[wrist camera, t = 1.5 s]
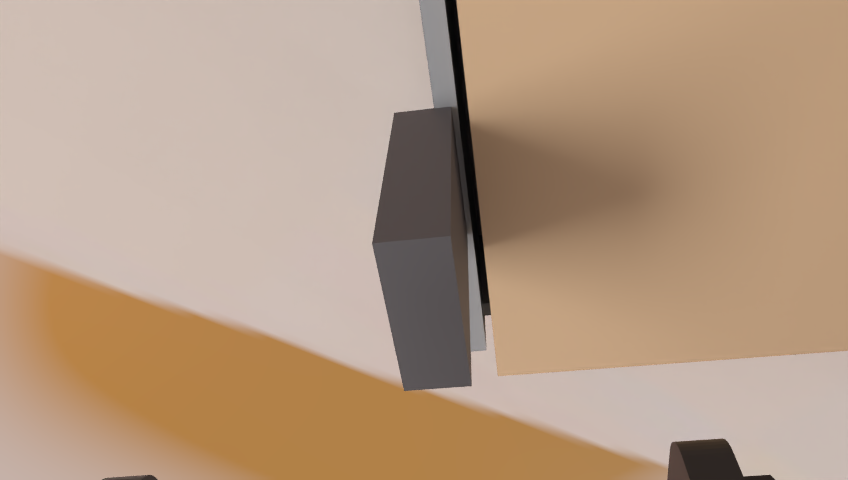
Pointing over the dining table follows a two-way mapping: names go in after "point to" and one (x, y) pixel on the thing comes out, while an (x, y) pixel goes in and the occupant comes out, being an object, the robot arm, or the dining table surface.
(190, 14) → the dining table surface
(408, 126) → the tray
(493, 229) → the mailer sleeve
